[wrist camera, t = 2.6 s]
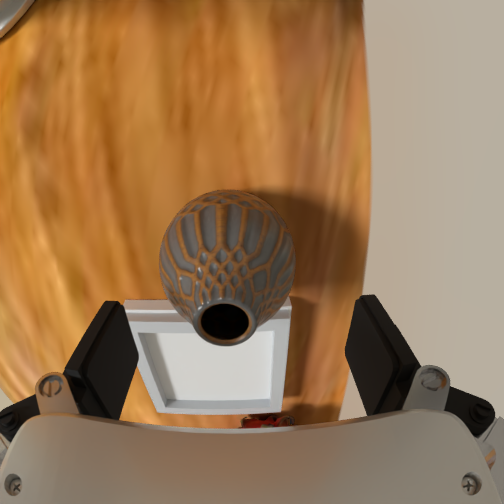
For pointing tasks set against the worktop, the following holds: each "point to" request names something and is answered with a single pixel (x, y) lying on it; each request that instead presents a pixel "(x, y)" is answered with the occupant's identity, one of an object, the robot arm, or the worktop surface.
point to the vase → (227, 265)
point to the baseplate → (208, 363)
